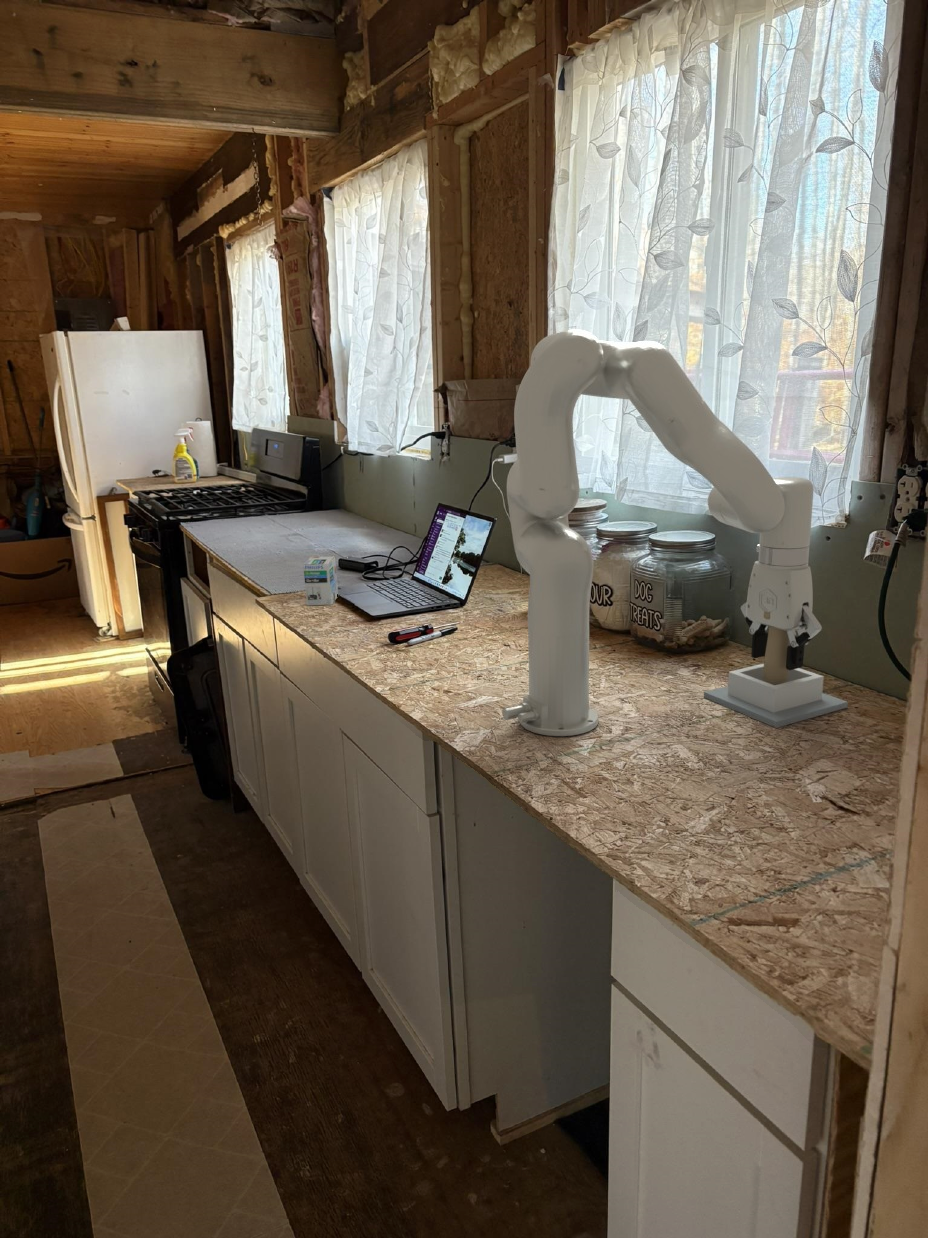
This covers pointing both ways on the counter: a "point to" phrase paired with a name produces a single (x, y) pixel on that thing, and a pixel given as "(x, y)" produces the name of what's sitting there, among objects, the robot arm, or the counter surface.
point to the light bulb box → (320, 580)
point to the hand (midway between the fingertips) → (776, 661)
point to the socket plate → (776, 696)
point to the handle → (775, 655)
